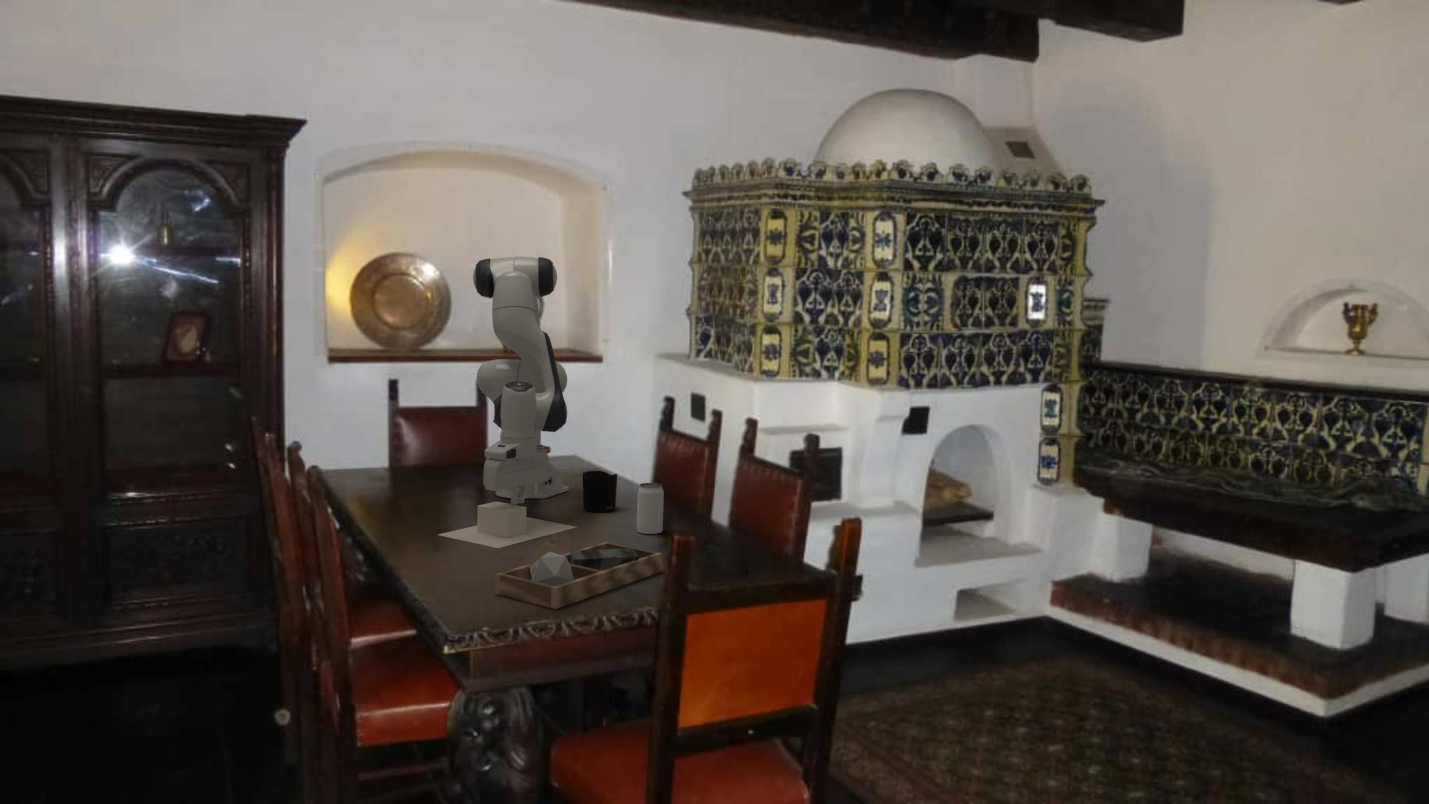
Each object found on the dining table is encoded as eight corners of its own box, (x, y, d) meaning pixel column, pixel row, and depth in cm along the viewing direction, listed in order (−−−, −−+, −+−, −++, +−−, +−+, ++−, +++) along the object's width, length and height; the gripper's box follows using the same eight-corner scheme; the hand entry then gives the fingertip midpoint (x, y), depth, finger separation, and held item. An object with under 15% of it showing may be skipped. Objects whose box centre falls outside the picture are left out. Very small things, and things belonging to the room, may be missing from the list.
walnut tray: (605, 559, 241) (605, 541, 241) (662, 571, 233) (662, 553, 232) (495, 593, 213) (495, 574, 212) (555, 609, 204) (556, 588, 204)
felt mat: (518, 517, 281) (518, 515, 281) (577, 528, 270) (577, 526, 270) (437, 536, 257) (437, 534, 257) (497, 549, 247) (497, 548, 247)
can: (666, 530, 271) (667, 483, 270) (656, 536, 265) (658, 488, 264) (642, 528, 273) (643, 481, 272) (632, 533, 267) (633, 485, 266)
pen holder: (583, 513, 287) (584, 477, 286) (580, 506, 297) (581, 470, 295) (618, 513, 289) (619, 476, 288) (614, 506, 299) (615, 470, 297)
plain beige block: (496, 501, 266) (477, 505, 261) (526, 507, 261) (507, 511, 255) (496, 527, 267) (477, 531, 262) (526, 533, 262) (507, 538, 256)
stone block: (568, 569, 231) (568, 546, 231) (631, 568, 235) (632, 545, 234) (572, 580, 223) (573, 557, 222) (638, 579, 226) (639, 556, 226)
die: (541, 587, 220) (518, 555, 215) (578, 567, 220) (556, 535, 215) (546, 612, 213) (523, 580, 208) (585, 592, 213) (562, 559, 208)
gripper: (537, 442, 274) (536, 495, 276) (479, 451, 257) (478, 507, 259) (556, 445, 271) (555, 499, 272) (498, 454, 254) (497, 511, 255)
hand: (517, 503), depth 265 cm, fingers closed
